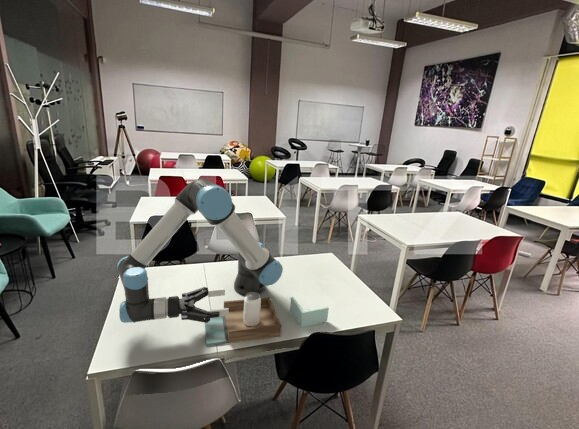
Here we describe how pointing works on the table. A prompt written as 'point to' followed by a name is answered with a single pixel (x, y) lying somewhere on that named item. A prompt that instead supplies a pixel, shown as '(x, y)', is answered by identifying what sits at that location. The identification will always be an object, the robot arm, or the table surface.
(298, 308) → the l-shaped corner panel
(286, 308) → the table surface
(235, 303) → the grooved wooden tray
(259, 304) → the can
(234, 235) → the robot arm
